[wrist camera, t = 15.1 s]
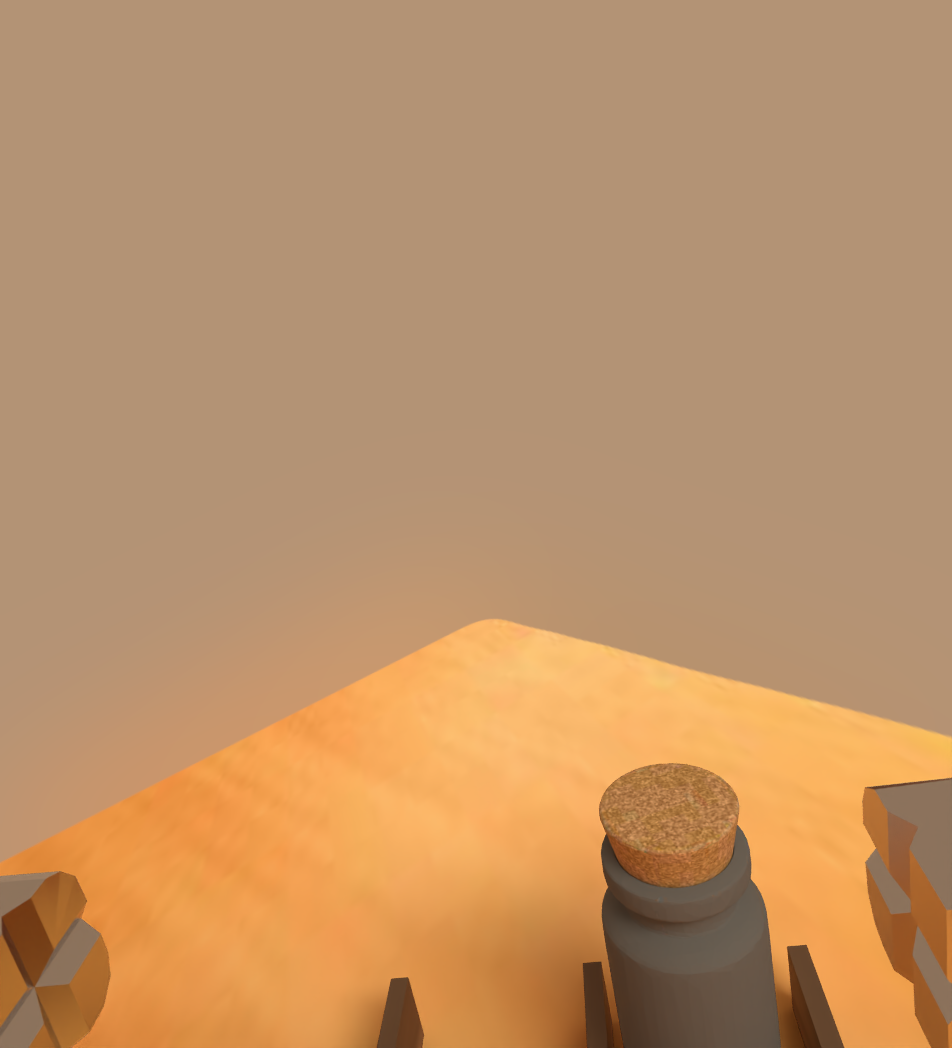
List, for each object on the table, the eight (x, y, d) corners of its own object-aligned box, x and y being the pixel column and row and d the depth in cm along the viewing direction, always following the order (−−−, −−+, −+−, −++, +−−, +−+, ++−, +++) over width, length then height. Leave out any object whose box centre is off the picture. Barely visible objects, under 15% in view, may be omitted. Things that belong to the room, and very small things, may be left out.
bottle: (630, 1051, 36) (580, 761, 32) (769, 1044, 36) (737, 744, 31) (643, 1197, 31) (584, 871, 26) (807, 1192, 30) (776, 855, 25)
